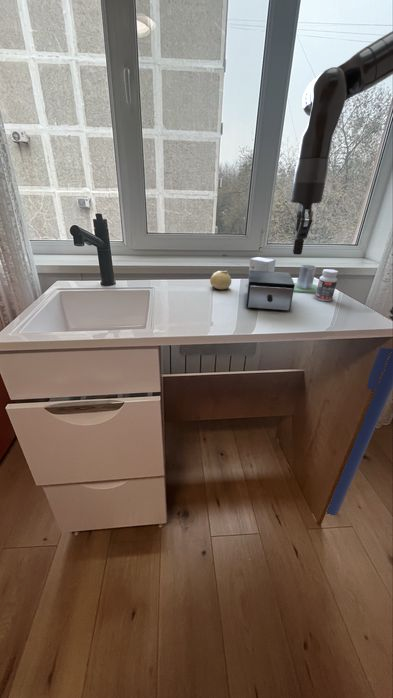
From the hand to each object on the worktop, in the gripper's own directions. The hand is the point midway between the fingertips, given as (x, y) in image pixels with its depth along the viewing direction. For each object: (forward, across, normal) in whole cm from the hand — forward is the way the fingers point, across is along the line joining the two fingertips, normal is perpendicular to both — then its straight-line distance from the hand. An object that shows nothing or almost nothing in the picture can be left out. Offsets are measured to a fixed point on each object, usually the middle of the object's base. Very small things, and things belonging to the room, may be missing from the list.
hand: (296, 253), depth 79 cm
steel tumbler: (+18, +29, -9) cm, 35 cm away
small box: (+18, +28, +8) cm, 34 cm away
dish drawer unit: (+18, +10, +6) cm, 21 cm away
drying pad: (+18, +29, -10) cm, 35 cm away
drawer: (+17, +7, +6) cm, 19 cm away
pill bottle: (+18, +18, -14) cm, 29 cm away
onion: (+18, +22, +22) cm, 36 cm away
